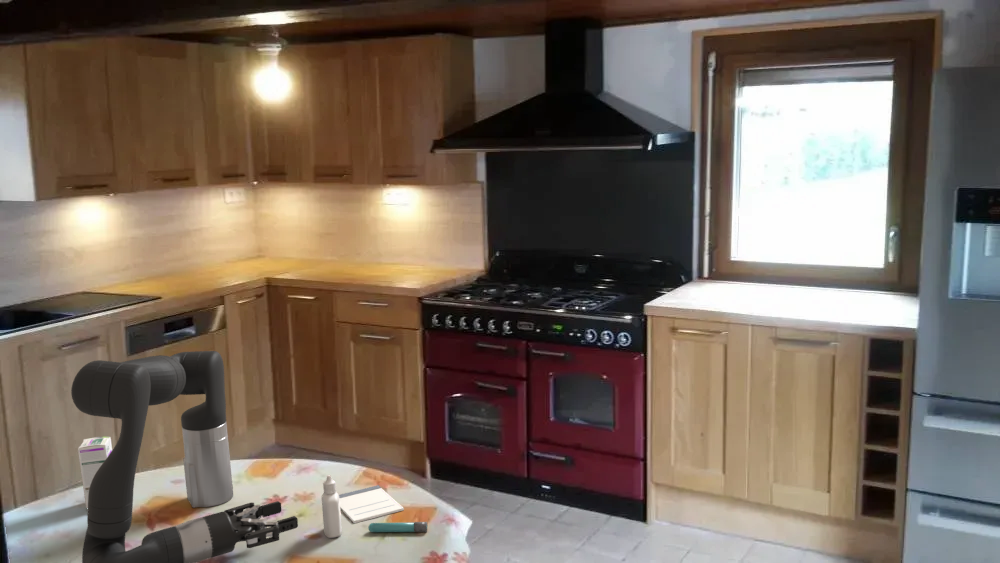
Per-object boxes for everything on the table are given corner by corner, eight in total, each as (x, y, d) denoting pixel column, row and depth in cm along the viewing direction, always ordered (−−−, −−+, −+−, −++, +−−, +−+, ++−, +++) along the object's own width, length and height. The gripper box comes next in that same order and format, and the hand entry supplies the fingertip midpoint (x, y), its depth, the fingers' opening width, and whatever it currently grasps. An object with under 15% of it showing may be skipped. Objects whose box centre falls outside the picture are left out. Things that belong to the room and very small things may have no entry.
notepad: (354, 523, 181) (354, 520, 180) (331, 499, 193) (330, 496, 192) (403, 510, 186) (403, 507, 186) (378, 487, 198) (378, 485, 198)
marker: (367, 533, 176) (367, 524, 175) (369, 529, 177) (369, 520, 177) (426, 533, 175) (426, 524, 175) (428, 529, 177) (427, 520, 176)
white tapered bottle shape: (348, 526, 179) (344, 470, 177) (338, 539, 174) (334, 481, 172) (327, 525, 180) (323, 469, 178) (317, 538, 174) (313, 480, 172)
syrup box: (114, 507, 192) (107, 443, 190) (85, 511, 191) (77, 447, 188) (119, 497, 198) (111, 435, 195) (90, 500, 196) (82, 438, 194)
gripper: (213, 533, 155) (301, 507, 164) (190, 505, 167) (273, 483, 176) (217, 572, 157) (304, 545, 166) (194, 543, 168) (276, 519, 177)
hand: (288, 513), depth 171 cm, fingers open, 8 cm apart
